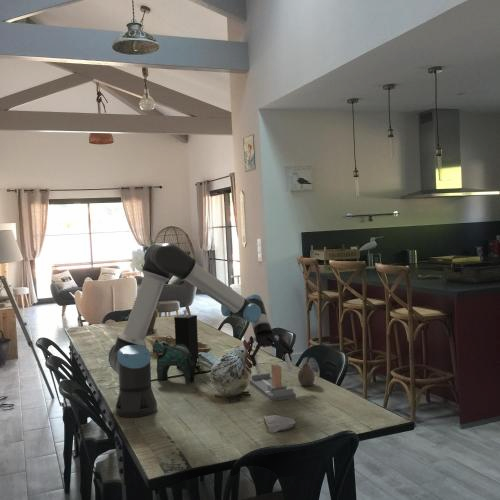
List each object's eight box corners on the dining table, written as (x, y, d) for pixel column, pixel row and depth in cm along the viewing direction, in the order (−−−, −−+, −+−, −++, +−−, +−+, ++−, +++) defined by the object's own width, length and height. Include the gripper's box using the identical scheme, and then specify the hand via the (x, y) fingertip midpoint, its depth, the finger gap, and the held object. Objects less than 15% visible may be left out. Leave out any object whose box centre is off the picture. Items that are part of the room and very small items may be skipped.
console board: (249, 383, 234) (249, 375, 234) (271, 380, 238) (271, 372, 237) (271, 401, 210) (271, 392, 210) (295, 397, 213) (295, 388, 213)
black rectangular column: (176, 368, 263) (173, 310, 261) (185, 364, 270) (183, 307, 268) (189, 370, 259) (187, 311, 258) (199, 365, 266) (196, 308, 265)
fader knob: (267, 388, 219) (266, 365, 219) (281, 386, 221) (280, 363, 221) (272, 392, 215) (271, 368, 214) (286, 390, 217) (285, 366, 216)
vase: (314, 387, 225) (313, 366, 225) (297, 387, 226) (296, 366, 226) (315, 382, 232) (314, 362, 231) (299, 382, 233) (298, 362, 233)
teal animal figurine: (152, 380, 245) (150, 335, 244) (161, 376, 250) (159, 332, 249) (190, 384, 235) (188, 338, 234) (198, 380, 241) (196, 335, 240)
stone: (293, 419, 191) (292, 409, 191) (297, 432, 179) (297, 421, 179) (263, 421, 190) (263, 411, 190) (266, 434, 178) (266, 423, 178)
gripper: (286, 329, 241) (301, 372, 227) (231, 334, 233) (243, 379, 219) (290, 319, 235) (306, 362, 222) (235, 324, 228) (247, 369, 214)
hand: (275, 370), depth 221 cm, fingers open, 13 cm apart
